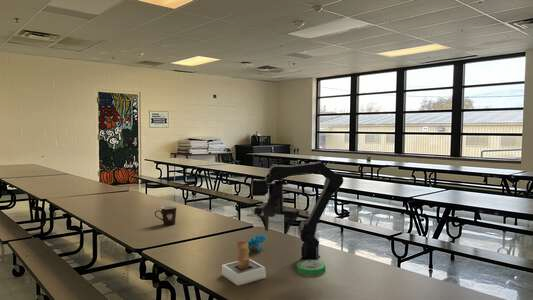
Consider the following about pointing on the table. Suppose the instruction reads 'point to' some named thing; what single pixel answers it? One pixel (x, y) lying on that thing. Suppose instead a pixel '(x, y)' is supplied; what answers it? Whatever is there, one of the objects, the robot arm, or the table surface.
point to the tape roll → (311, 271)
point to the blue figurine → (256, 242)
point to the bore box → (243, 272)
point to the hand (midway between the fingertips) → (276, 232)
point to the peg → (243, 255)
